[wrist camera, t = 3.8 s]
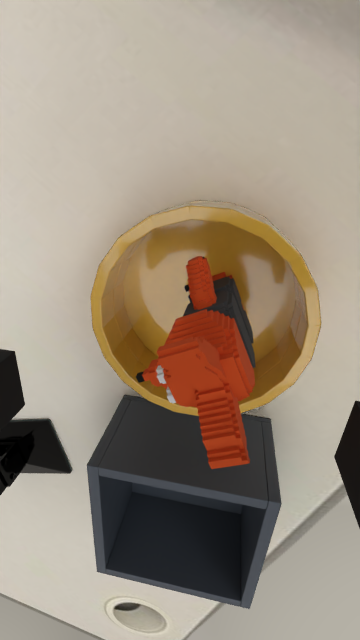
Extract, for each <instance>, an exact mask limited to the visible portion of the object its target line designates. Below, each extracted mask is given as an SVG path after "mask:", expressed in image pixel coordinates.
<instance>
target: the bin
mask: <svg viewBox="0 0 360 640" xmlns="http://www.w3.org/2000/svg"><path fill="white" fill-rule="evenodd" d="M241 417H242V422H243V428H244V430H245V436H246V441H247V450H248V456H249V459H250V463H249V464H243V465H236V466H230V467H223V468H216V469H211V467H210V465H209V463H208V459H209V458H208V456H207V450H206V448H205V445H204V443H203V441H202V439H203V437H202V435H201V431H202V430H201V428H200V422H199V416H195V415H189V414H184V413H178V412H173V411H171V410H169V409H167V408H164V407H162V406H160V405H157V404H155V403H153V402H150V401H148V400H147V399H145V398H140V397H133V396H127V395H124V397H123V399H122V400H121V402H120V404H119V406H118V408H117V410H116V412H115V413H114V415H113V417H112V419H111V421H110V423H109V425H108V427H107V428H106V430H105V432H104V434H103V436H102V438H101V440H100V442H99V444H98V445H97V447H96V449H95V451H94V453H93V455H92V457H91V459H90V460H89V462H88V464H87V472H88V483H89V493H90V503H91V514H92V524H93V534H94V545H95V555H96V566H97V572H100V573H104V574H108V575H112V576H116V577H120V578H124V579H129V580H133V581H137V582H141V583H145V584H149V585H153V586H157V587H161V588H165V589H169V590H173V591H178V592H182V593H186V594H190V595H194V596H198V597H202V598H206V599H210V600H214V601H218V602H222V603H227V604H231V605H235V606H240V607H244V608H248V609H249V608H250V606H251V603H252V599H253V596H254V593H255V590H256V586H257V583H258V580H259V576H260V573H261V570H262V567H263V563H264V560H265V557H266V553H267V550H268V547H269V543H270V540H271V537H272V533H273V530H274V527H275V523H276V520H277V517H278V514H279V510H280V507H281V496H280V489H279V481H278V473H277V465H276V457H275V449H274V442H273V434H272V426H271V419H268V418H261V417H255V416H249V415H243V414H241Z"/></svg>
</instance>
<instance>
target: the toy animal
mask: <svg viewBox="0 0 360 640" xmlns="http://www.w3.org/2000/svg"><path fill="white" fill-rule="evenodd" d="M186 269H187V273H188V275H187V276H188V278H189V279H188V283H189V284H188V285H185V287H184V288H185V290H186V292H187V291H189V293H190V295H189V296H188V298H189V301H190V303H189V304H188V305H187V308H186V310H185V312H184V315H183V317H180V318H177V319H176V320H175V322H174V324H173V326H172V329H171V331H170V333H169V335H168V338H167V340H166V342H165V344H164V345H163V346H160V347H159V348H158V350H157V354H158V356H159V357H158V359H155V360H152V361H151V363H150V365H149V367H148V368H147V369H145V370H144V371H143V372H139V373H137V375H136V379H137V381H138V383H140V382H144V381H148V380H150V381H151V383H152V385H153V384H154V386H157V387H159V386H162V387H165V389H166V391H167V393H168V395H167V398H168V400H169V402H170V403H177V404H179V405H180V406H184V407H191V406H192V407H196V408H197V409H198V415H199V422H200V428H201V430H202V431H201V435H202V437H203V439H202V441H203V443H204V445H205V448H206V450H207V456H208V458H209V459H208V463H209V465H210V467H211V469H216V468H223V467H230V466H236V465H243V464H249V463H250V459H249V456H248V450H247V441H246V436H245V430H244V428H243V422H242V417H241V411H240V409H239V404H238V401H242V400H243V399H244V398H247V397H249V396H250V393H251V392H253V391H252V389H253V387H254V386H255V376H254V370H253V368H255V367H256V366H255V354H254V350H253V346H252V343H254V342H253V332H252V328H251V325H250V322H249V319H248V317H247V314H246V311H245V310H244V308H243V305H242V303H241V297H240V294H239V292H238V289H237V286H236V283H235V280H234V279H233V277H232V275H230V276H227V277H226V274H225V272H222V273H219V274H217V275H214V276H212V275H211V270H210V266H209V263H208V261H207V258H204V257H202V256H197V257H195V258H192V259H191V260H189V261H188V265H186Z"/></svg>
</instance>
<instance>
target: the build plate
mask: <svg viewBox="0 0 360 640" xmlns="http://www.w3.org/2000/svg"><path fill="white" fill-rule="evenodd" d="M71 471H72V468H71V466H70V463H69V461H68V459H67V457H66V454H65V452H64V450H63V448H62V445H61V443H60V441H59V438H58V436H57V434H56V432H55V429H54V427H53V425H52V423H51V421H50V420H49V419H30V420H10V422H9V423H8V424H7V425H6V426H5V427H4V428H3V429H2V430H1V431H0V495H1V494H2V493H3V491H4V490H5V489H6V487H10V486H11V484H12V483H13V482H14V480H15V479H16V478H17V476H18V475H19V474H20V473H71Z"/></svg>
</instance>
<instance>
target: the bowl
mask: <svg viewBox="0 0 360 640" xmlns="http://www.w3.org/2000/svg"><path fill="white" fill-rule="evenodd" d="M197 256H202V257H204V258H207V261H208V263H209V266H210V270H211V275H212V276H214V275H217V274H219V273H222V272H225V274H226V277H227V276H230V275H232V277H233V279H234V280H235V283H236V286H237V289H238V292H239V294H240V297H241V303H242V305H243V308H244V310H245V311H246V314H247V317H248V319H249V322H250V325H251V328H252V332H253V342H254V343H252V346H253V350H254V354H255V366H256V367H255V368H253V370H254V376H255V386H254V387H253V389H252V391H253V392H251V393H250V396H249V397H247V398H244V399H243V400H242V401H238V404H239V409H240V411H241V413H243V412H246V411H249V410H251V409H254V408H257V407H260V406H263V405H265V404H266V403H269V402H270V401H272V400H273V399H274V398H276V397H277V396H278V395H280V394H281V393H283V392H284V391H285V390H287V389H288V388H289V387H291V386H292V385H293V384H294V383H295V381H296V380H297V379H298V377H299V376H300V375H301V373H302V372H303V370H304V369H305V368H306V366H307V365H308V363H309V362H310V361H311V359H312V356H313V353H314V349H315V346H316V342H317V339H318V335H319V331H320V328H321V316H320V305H319V294H318V288H317V286H316V284H315V282H314V280H313V278H312V276H311V274H310V272H309V270H308V268H307V266H306V264H305V262H304V260H303V258H302V256H301V254H300V253H299V252H298V250H297V249H296V248H295V247H294V245H293V244H292V243H291V242H290V240H289V239H288V238H287V237H286V236H285V235H284V234H283V233H282V232H280V231H279V229H277V228H276V227H275V226H274V225H273V224H272V223H271V222H270V221H269V220H268V219H267V218H266V217H264V216H262V215H260V214H257V213H255V212H253V211H251V210H249V209H247V208H245V207H242V206H239V205H237V204H235V203H229V202H219V201H203V200H199V201H194V202H190V203H186V204H182V205H178V206H175V207H171V208H167V209H165V210H163V211H160V212H158V213H155V214H153V215H151V216H149V217H147V218H146V219H144V220H143V221H141V222H140V223H139V224H137V225H136V226H134V227H133V228H131V229H130V230H128V231H127V232H126V233H124V234H123V235H121V236H120V237H119V238H118V239H117V241H116V242H115V243H114V245H113V246H112V248H111V249H110V250H109V252H108V253H107V255H106V256H105V258H104V259H103V260H102V262H101V263H100V265H99V267H98V271H97V275H96V278H95V282H94V286H93V289H92V293H91V311H92V326H93V331H94V333H95V336H96V338H97V341H98V343H99V346H100V348H101V351H102V353H103V356H104V357H105V359H106V360H107V362H108V363H109V364H110V365H111V367H112V368H113V369H114V371H115V372H116V373H117V375H118V376H119V377H120V378H121V380H122V381H123V382H124V383H126V384H127V385H128V386H130V387H131V388H132V389H133V390H135V391H136V392H137V393H139V394H140V395H141V396H143V397H144V398H145V399H147V400H148V401H150V402H153V403H155V404H157V405H160V406H162V407H164V408H167V409H169V410H171V411H173V412H178V413H184V414H189V415H195V416H199V415H198V409H197V408H196V407H192V406H191V407H184V406H180V405H179V404H177V403H170V402H169V400H168V398H167V395H168V393H167V391H166V389H165V387H162V386H159V387H157V386H154V384H153V385H152V383H151V381H150V380H148V381H144V382H140V383H138V381H137V379H136V375H137V373H139V372H143V371H144V370H145V369H147V368H148V367H149V365H150V363H151V361H152V360H155V359H158V357H159V356H158V354H157V350H158V348H159V347H160V346H163V345H164V344H165V342H166V340H167V338H168V335H169V333H170V331H171V329H172V326H173V324H174V322H175V320H176V319H177V318H180V317H183V315H184V312H185V310H186V308H187V305H188V304H189V303H190V301H189V298H188V296H189V295H190V293H189V291H187V292H186V290H185V288H184V287H185V285H188V284H189V283H188V279H189V278H188V276H187V275H188V273H187V269H186V265H188V261H189V260H191V259H192V258H195V257H197Z"/></svg>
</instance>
